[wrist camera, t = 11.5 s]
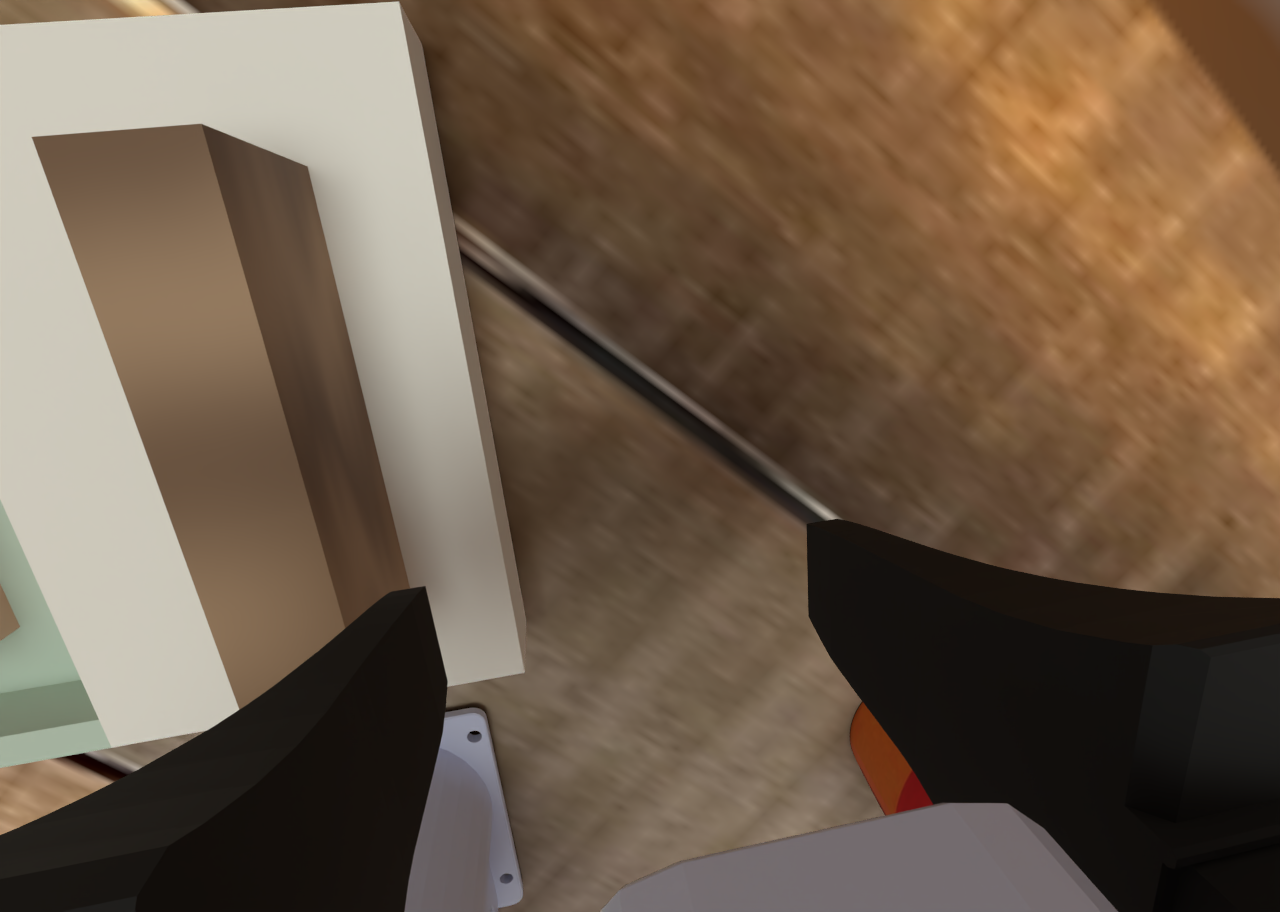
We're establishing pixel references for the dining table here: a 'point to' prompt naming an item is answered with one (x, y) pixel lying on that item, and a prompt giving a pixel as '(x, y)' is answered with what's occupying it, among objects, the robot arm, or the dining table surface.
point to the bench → (373, 311)
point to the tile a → (6, 616)
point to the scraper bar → (235, 381)
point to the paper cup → (885, 766)
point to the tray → (38, 673)
